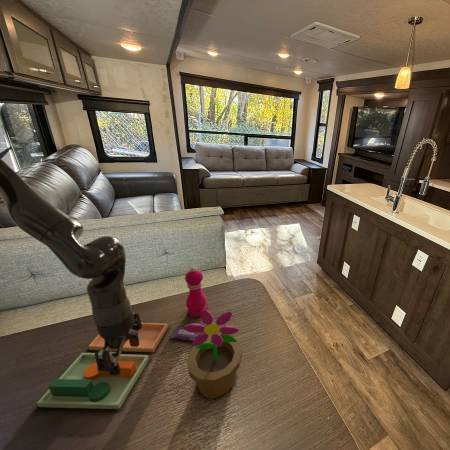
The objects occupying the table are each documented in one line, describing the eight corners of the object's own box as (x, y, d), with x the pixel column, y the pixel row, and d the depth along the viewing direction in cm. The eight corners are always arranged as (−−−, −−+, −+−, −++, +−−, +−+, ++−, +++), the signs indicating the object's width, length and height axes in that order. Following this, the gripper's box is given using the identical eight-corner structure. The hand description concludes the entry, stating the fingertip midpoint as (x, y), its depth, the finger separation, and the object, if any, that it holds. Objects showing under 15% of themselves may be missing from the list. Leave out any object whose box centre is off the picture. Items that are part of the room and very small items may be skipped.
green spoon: (114, 385, 67) (111, 376, 66) (102, 402, 63) (99, 392, 62) (63, 383, 66) (59, 374, 65) (48, 401, 62) (43, 391, 61)
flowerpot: (186, 412, 63) (173, 323, 52) (193, 362, 76) (184, 282, 64) (243, 399, 67) (243, 315, 56) (240, 354, 80) (240, 277, 68)
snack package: (169, 335, 82) (177, 324, 86) (170, 340, 82) (178, 328, 87) (203, 340, 81) (209, 328, 86) (204, 344, 82) (210, 332, 87)
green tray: (39, 408, 61) (36, 403, 60) (83, 357, 74) (82, 352, 73) (119, 410, 62) (117, 405, 61) (149, 360, 75) (148, 355, 75)
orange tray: (89, 351, 76) (87, 346, 75) (111, 325, 86) (110, 321, 85) (153, 353, 77) (152, 348, 77) (168, 328, 87) (167, 323, 86)
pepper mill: (185, 319, 91) (180, 274, 83) (188, 305, 98) (183, 262, 90) (206, 316, 93) (203, 272, 85) (207, 303, 100) (204, 261, 92)
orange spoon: (80, 380, 68) (76, 370, 66) (92, 365, 72) (89, 356, 70) (130, 381, 68) (127, 372, 67) (139, 367, 72) (137, 358, 71)
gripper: (116, 294, 68) (127, 337, 74) (74, 335, 55) (92, 384, 61) (144, 295, 68) (153, 338, 75) (109, 337, 55) (124, 384, 62)
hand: (126, 358), depth 68 cm, fingers open, 8 cm apart
